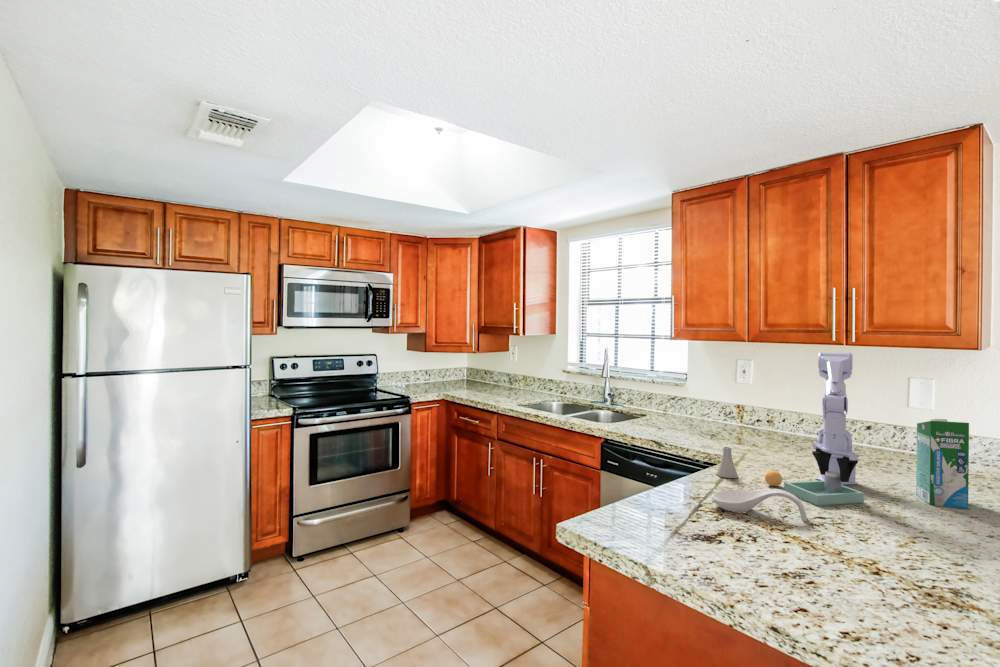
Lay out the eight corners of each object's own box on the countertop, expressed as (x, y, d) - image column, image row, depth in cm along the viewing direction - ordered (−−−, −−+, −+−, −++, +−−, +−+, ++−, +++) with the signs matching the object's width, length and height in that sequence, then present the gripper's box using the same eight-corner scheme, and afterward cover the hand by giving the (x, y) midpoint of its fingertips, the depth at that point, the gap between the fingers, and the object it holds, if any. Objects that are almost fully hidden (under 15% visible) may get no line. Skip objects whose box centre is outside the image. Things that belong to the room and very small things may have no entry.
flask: (740, 479, 172) (741, 450, 172) (718, 478, 173) (718, 449, 173) (735, 473, 179) (735, 445, 179) (713, 472, 180) (714, 444, 180)
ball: (774, 483, 168) (774, 468, 168) (785, 488, 163) (785, 472, 163) (761, 484, 167) (761, 469, 167) (772, 488, 162) (772, 473, 162)
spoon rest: (710, 513, 140) (710, 487, 140) (712, 500, 151) (712, 476, 151) (808, 527, 130) (809, 500, 130) (803, 513, 141) (803, 487, 141)
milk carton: (952, 499, 153) (952, 417, 153) (968, 509, 144) (969, 422, 144) (916, 495, 156) (916, 415, 156) (930, 505, 147) (930, 420, 147)
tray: (828, 489, 162) (828, 480, 162) (863, 503, 149) (863, 492, 149) (784, 491, 159) (784, 482, 159) (816, 505, 146) (817, 495, 146)
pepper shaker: (833, 493, 157) (834, 470, 157) (845, 497, 152) (845, 474, 152) (821, 493, 156) (821, 471, 156) (831, 498, 152) (832, 475, 152)
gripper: (804, 429, 161) (804, 471, 161) (843, 439, 147) (842, 485, 147) (824, 429, 162) (823, 470, 162) (863, 438, 148) (863, 484, 148)
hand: (834, 477), depth 155 cm, fingers open, 7 cm apart
